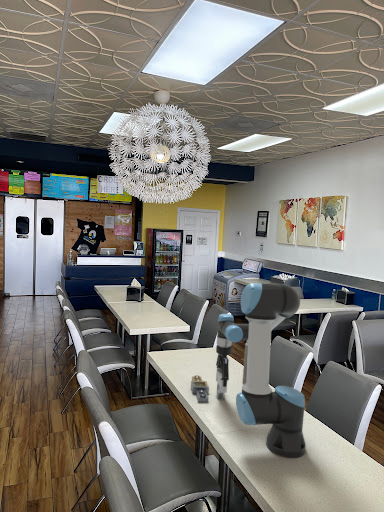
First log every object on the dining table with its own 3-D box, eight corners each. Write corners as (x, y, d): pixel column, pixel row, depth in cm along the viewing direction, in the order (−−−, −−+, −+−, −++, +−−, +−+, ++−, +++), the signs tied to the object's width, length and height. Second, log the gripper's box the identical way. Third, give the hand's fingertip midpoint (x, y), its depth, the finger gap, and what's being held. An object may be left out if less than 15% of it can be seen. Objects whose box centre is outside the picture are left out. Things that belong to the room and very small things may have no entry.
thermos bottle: (254, 387, 212) (258, 337, 210) (240, 384, 216) (244, 334, 213) (258, 383, 219) (262, 334, 217) (245, 379, 223) (249, 331, 221)
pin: (226, 399, 195) (228, 370, 194) (216, 399, 194) (218, 370, 193) (224, 395, 200) (226, 366, 199) (214, 395, 199) (216, 366, 198)
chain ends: (211, 402, 191) (212, 395, 191) (194, 402, 190) (195, 395, 190) (203, 380, 218) (203, 374, 217) (188, 380, 217) (189, 374, 216)
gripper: (237, 353, 183) (233, 397, 185) (226, 338, 208) (223, 376, 210) (221, 353, 182) (218, 397, 184) (212, 337, 207) (209, 376, 209)
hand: (221, 386), depth 197 cm, fingers open, 13 cm apart
